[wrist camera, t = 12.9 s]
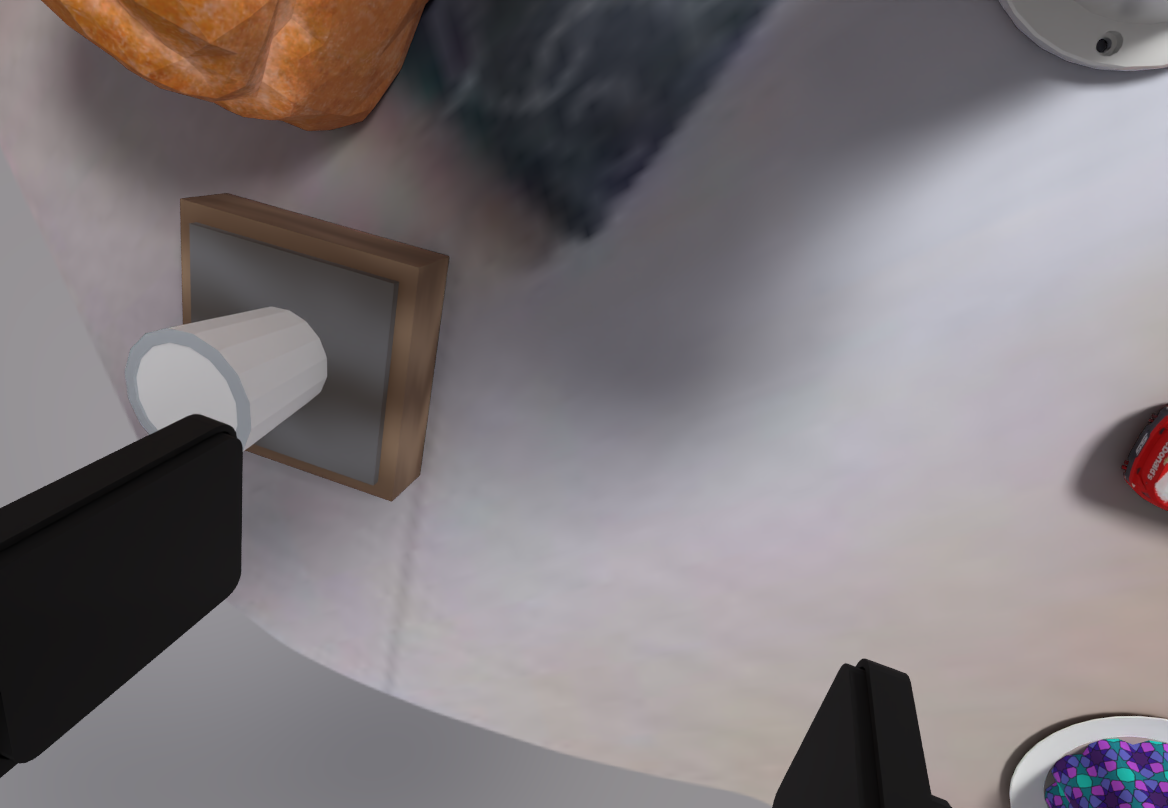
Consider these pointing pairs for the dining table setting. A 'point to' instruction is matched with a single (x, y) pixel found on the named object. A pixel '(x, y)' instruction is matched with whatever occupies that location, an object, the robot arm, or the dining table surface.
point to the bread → (258, 51)
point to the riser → (328, 330)
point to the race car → (1150, 462)
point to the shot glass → (227, 371)
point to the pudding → (1097, 767)
